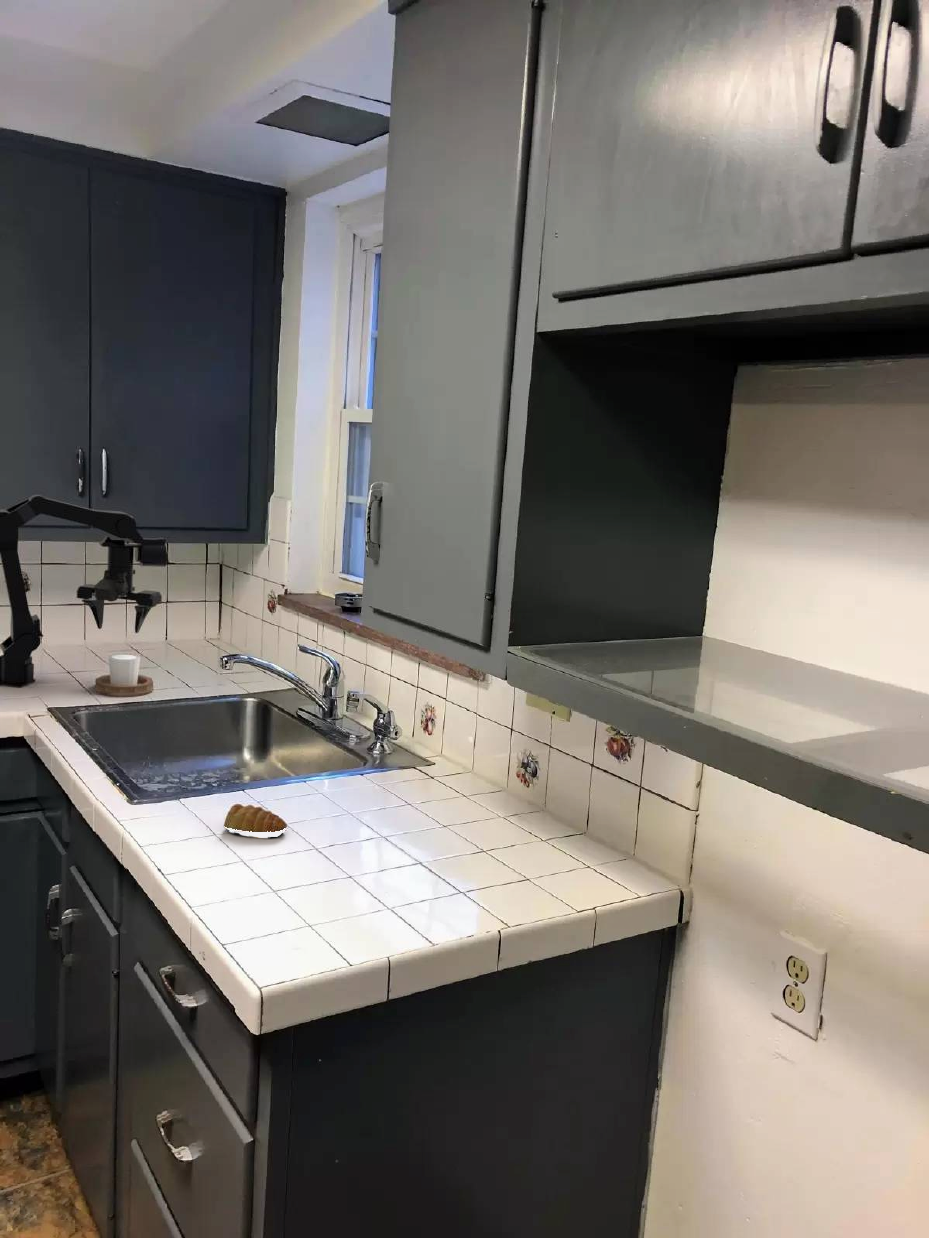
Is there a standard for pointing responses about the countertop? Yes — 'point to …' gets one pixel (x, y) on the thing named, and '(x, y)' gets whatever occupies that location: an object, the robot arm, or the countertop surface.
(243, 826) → the pastry
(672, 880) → the countertop surface
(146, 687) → the round wooden tray
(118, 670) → the white canister
